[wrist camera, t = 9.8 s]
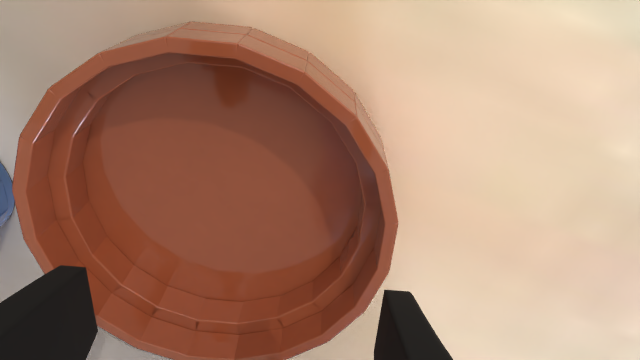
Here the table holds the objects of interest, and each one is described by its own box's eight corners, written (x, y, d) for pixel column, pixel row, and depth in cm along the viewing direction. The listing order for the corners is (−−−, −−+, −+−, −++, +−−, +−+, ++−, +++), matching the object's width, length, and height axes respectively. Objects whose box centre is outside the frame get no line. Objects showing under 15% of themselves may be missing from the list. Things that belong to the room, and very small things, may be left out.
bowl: (364, 322, 24) (369, 379, 21) (87, 298, 24) (50, 352, 21) (413, 39, 18) (429, 61, 15) (35, 4, 17) (-30, 18, 14)
